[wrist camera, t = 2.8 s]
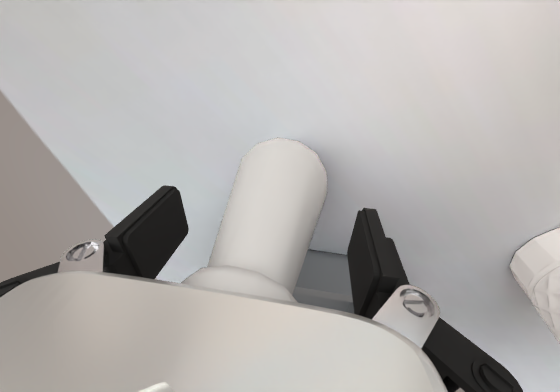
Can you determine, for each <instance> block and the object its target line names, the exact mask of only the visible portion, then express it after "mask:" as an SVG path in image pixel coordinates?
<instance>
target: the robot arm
mask: <svg viewBox="0 0 560 392" xmlns="http://www.w3.org/2000/svg"><path fill="white" fill-rule="evenodd" d="M187 234H188V224H187V220H186V216H185V212H184V208H183V204H182V199H181V195H180V192H179V190H177V188H176V187H174V186H162V187H161V188H160V189H158V190H157V191H156V192H155V193H154V194H153V195H151V196H150V197H149V198H148V199H147V200H146V201H144V202H143V203H142V204H141V205H140V206H139V207H137V208H136V209H135V210H134V211H133V212H131V213H130V214H129V215H128V216H127V217H126V218H124V219H123V220H122V221H121V222H120V223H119V224H117V225H116V226H115V227H114V228H113V229H112V230H110V231H109V232H108V233H107V234H106V235H105V238H106V240H105V241H104V242H102V241H101V240H97V239H90V240H85V241H82V242H79V243H77V244H75V245H73V246H71V247H70V248H69V249H67V250H66V251H65V252H64V253H63V255H62V257H61V260H60V262H58V263H55V264H52V265H49V266H46V267H43V268H40V269H37V270H34V271H31V272H28V273H25V274H22V275H20V276H17V277H14V278H11V279H8V280H6V281H3V282H1V283H0V392H523V390H522V388H521V387H520V385H519V383H518V382H517V380H516V379H515V378H514V377H513V375H512V374H511V373H510V372H509V371H508V370H507V369H506V368H504V367H503V366H502V365H501V364H500V363H498V362H497V361H496V360H494V359H493V358H492V357H491V356H489V355H488V354H487V353H485V352H484V351H483V350H481V349H480V348H479V347H477V346H476V345H475V344H474V343H472V342H471V341H470V340H468V339H467V338H466V337H464V336H463V335H462V334H461V333H459V332H458V331H457V330H455V329H454V328H453V327H451V326H450V325H449V324H447V323H446V322H445V321H444V320H442V319H441V318H440V317H439V315H440V310H439V306H438V305H437V303H436V301H435V300H434V299H433V298H432V296H431V295H429V294H428V293H427V292H426V291H424V290H422V289H420V288H418V287H415V286H412V285H409V282H408V279H407V277H406V274H405V271H404V269H403V266H402V263H401V260H400V258H399V255H398V252H397V250H396V247H395V244H394V242H393V240H392V239H391V238H386V237H385V234H384V231H383V228H382V225H381V222H380V219H379V216H378V213H377V211H376V209H368V208H363V210H362V211H360V210H359V211H358V214H357V218H356V221H355V225H354V229H353V232H352V236H351V240H350V243H349V247H348V252H347V258H348V266H349V274H350V282H351V290H352V298H353V306H354V314H352V313H348V312H343V311H339V310H334V309H329V308H324V307H318V306H313V305H307V304H302V303H296V302H290V301H284V300H278V299H272V298H266V297H261V296H255V295H249V294H243V293H236V292H230V291H224V290H218V289H212V288H206V287H200V286H193V285H187V284H181V283H175V282H168V281H162V280H155V278H156V276H157V275H158V274H159V272H160V271H161V269H162V268H163V267H164V265H165V264H166V263H167V261H168V260H169V259H170V257H171V256H172V254H173V253H174V252H175V250H176V249H177V248H178V246H179V245H180V243H181V242H182V241H183V239H184V238H185V237H186V235H187Z"/></svg>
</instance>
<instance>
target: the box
mask: <svg viewBox="0 0 560 392" xmlns="http://www.w3.org/2000/svg"><path fill="white" fill-rule="evenodd" d="M292 296H293V297H294V298H295V300H296V301H297V302H298V303H302V304H307V305H313V306H318V307H324V308H329V309H334V310H339V311H343V312H348V313H352V314H354V306H353V298H352V290H351V282H350V274H349V266H348V258H347V255H342V254H335V253H328V252H321V251H314V250H307V253H306V256H305V259H304V262H303V265H302V268H301V271H300V274H299V277H298V280H297V283H296V286H295V289H294V292H293V294H292Z"/></svg>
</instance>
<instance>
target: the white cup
mask: <svg viewBox="0 0 560 392" xmlns="http://www.w3.org/2000/svg"><path fill="white" fill-rule="evenodd" d="M510 269H511V271H512V274H513V276H514V278H515V280H516V281H517V282H518V284H519V285H520V286H521V288H522V289H523V290H524V292H525V293H526V294H527V296H528V297H529V298H530V300H531V301H532V304H533V306H534V307H535V309H536V311H537V312H538V314H539V315H540V316H541V318H542V319H543V320H544V322H545V323H546V325H547V326H548V327H549V329H550V331H551V332H552V334H553V335H554V337H555V338H556V339H557V341H558V342H559V344H560V228H557V229H554V230H552V231H549V232H547V233H544V234H542V235H539V236H537V237H535V238H533V239H531V240H530V241H529V242H527V243H526V244H525V245H524V246H522V247H521V248H520V249H519V250H517V251H516V252H515V255H514V257H513V259H512V261H511V263H510Z"/></svg>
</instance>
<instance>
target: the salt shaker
mask: <svg viewBox="0 0 560 392" xmlns="http://www.w3.org/2000/svg"><path fill="white" fill-rule="evenodd" d="M326 195H327V173H326V170H325V168H324V166H323V164H322V163H321V161H320V159H319V157H318V155H317V153H315V152H314V151H313V150H311V149H310V148H308V147H307V146H305V145H304V144H302V143H301V142H299V141H296V140H290V139H284V138H274V139H271V140H267V141H264V142H260V143H258V144H257V145H255V146H254V147H253V148H252V149H251V150H250V151H249V152H248V153H247V154H246V155H245V156H244V157H243V158H242V159H241V162H240V165H239V168H238V172H237V175H236V178H235V181H234V184H233V187H232V190H231V194H230V197H229V200H228V203H227V206H226V209H225V212H224V216H223V219H222V222H221V225H220V228H219V231H218V234H217V238H216V241H215V244H214V247H213V250H212V253H211V257H210V260H209V263H208V266H207V267H206V268H201V269H199V270H198V271H196V272H195V273H193V274H192V275H191V276H189V277H188V278H186V279H185V280H184V281H183V282H181V284H187V285H193V286H200V287H206V288H212V289H218V290H224V291H230V292H236V293H243V294H249V295H255V296H261V297H266V298H272V299H278V300H284V301H290V302H296V303H298V302H297V301H296V300H295V298H294V297H293V296H292V294H293V292H294V289H295V286H296V283H297V280H298V277H299V274H300V271H301V268H302V265H303V262H304V259H305V256H306V253H307V250H308V248H309V245H310V242H311V239H312V236H313V233H314V230H315V227H316V224H317V221H318V218H319V215H320V212H321V209H322V207H323V204H324V201H325V198H326Z"/></svg>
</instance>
